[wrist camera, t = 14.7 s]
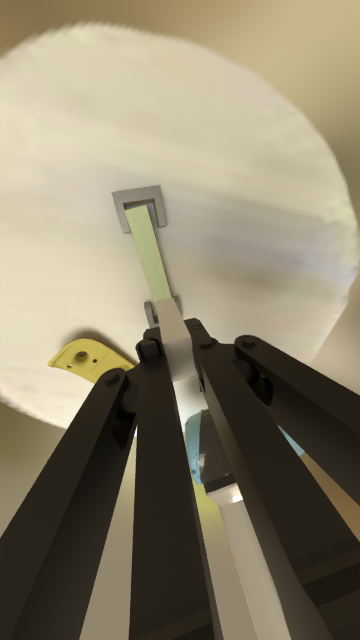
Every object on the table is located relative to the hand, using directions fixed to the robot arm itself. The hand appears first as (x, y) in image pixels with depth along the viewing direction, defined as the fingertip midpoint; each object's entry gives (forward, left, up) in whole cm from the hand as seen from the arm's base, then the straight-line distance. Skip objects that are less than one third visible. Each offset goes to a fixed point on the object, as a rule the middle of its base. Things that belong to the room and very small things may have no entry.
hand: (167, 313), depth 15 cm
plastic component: (-20, +17, -23) cm, 35 cm away
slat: (0, 0, -23) cm, 23 cm away
